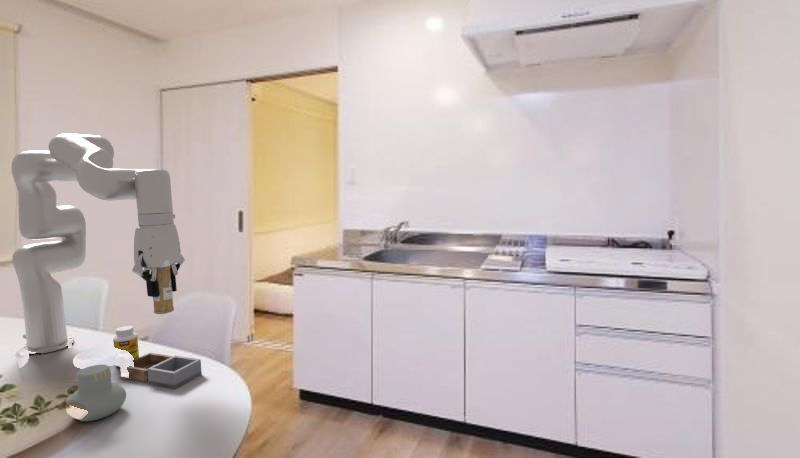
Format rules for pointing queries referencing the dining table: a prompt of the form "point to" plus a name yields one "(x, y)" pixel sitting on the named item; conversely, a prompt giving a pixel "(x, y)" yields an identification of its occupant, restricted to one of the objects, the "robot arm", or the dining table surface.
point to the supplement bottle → (127, 340)
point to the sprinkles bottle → (164, 290)
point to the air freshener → (97, 393)
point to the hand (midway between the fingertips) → (162, 292)
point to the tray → (174, 372)
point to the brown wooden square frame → (145, 365)
